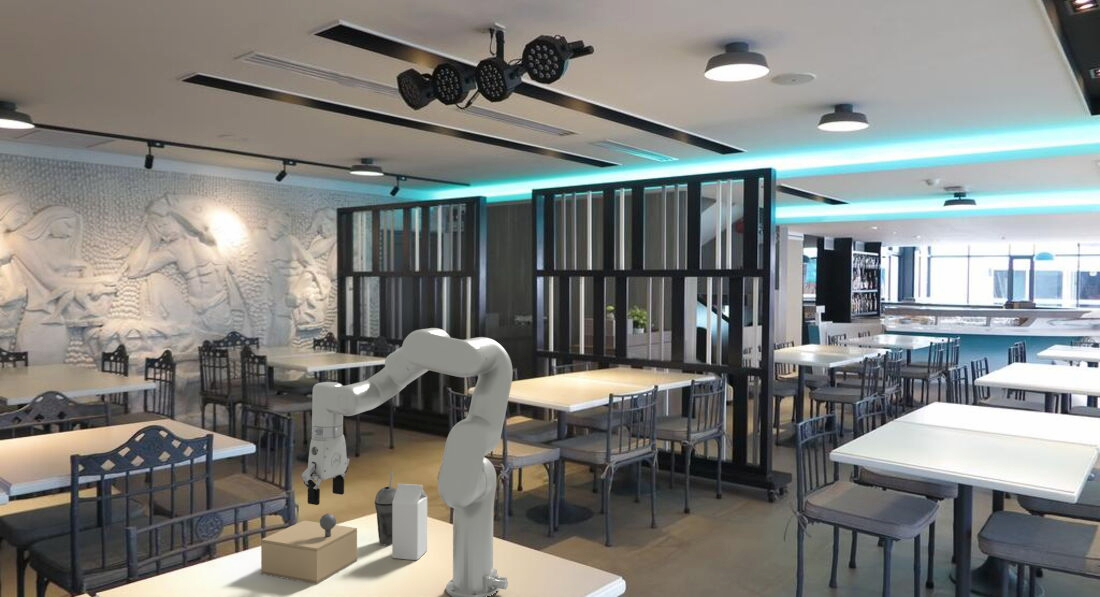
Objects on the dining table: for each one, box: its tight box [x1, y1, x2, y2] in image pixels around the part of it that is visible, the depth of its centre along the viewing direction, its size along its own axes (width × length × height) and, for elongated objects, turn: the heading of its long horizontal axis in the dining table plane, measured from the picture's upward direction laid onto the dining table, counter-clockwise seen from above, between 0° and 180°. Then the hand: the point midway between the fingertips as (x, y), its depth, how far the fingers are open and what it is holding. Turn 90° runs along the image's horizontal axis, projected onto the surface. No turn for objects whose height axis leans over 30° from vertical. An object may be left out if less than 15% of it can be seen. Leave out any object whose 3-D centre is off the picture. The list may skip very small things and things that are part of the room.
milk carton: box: [391, 483, 428, 561], centre depth 197 cm, size 7×7×19 cm
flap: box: [260, 513, 358, 551], centre depth 187 cm, size 17×16×6 cm
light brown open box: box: [260, 530, 358, 585], centre depth 188 cm, size 17×16×8 cm
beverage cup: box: [374, 471, 397, 546], centre depth 206 cm, size 7×7×20 cm
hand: (326, 498), depth 186 cm, fingers open, 9 cm apart
